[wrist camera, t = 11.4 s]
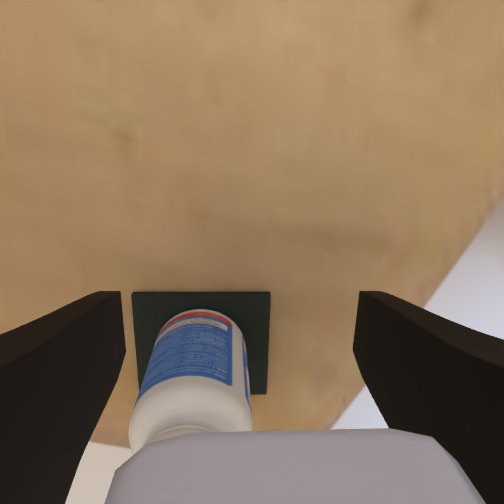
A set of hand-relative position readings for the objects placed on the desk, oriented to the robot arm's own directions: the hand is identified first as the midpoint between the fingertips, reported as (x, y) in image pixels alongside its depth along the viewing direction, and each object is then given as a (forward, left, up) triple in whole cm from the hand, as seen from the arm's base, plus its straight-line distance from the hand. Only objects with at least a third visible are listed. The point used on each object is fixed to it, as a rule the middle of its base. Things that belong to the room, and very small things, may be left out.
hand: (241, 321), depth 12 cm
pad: (-2, -7, -10) cm, 13 cm away
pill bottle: (-2, -7, -10) cm, 13 cm away
